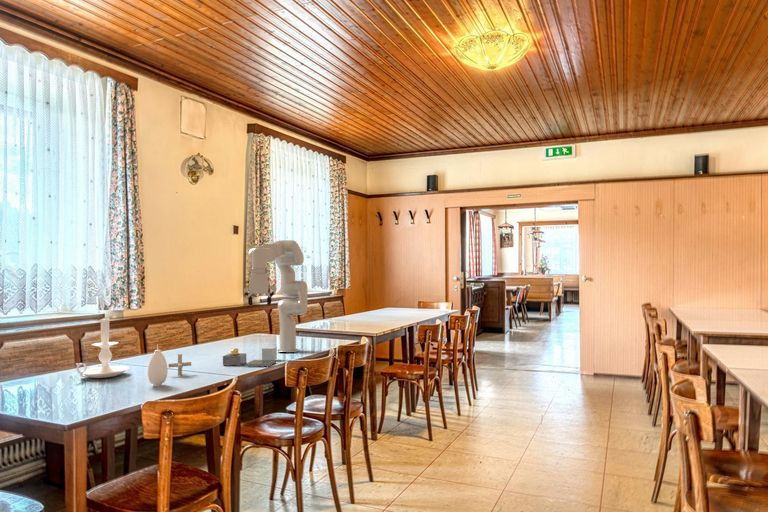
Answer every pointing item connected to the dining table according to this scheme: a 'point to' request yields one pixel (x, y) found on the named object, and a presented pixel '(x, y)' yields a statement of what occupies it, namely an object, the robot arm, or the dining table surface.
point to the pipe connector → (179, 364)
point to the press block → (234, 359)
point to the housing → (269, 353)
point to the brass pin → (234, 351)
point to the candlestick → (103, 357)
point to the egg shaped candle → (157, 368)
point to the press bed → (260, 363)
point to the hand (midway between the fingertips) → (259, 305)
